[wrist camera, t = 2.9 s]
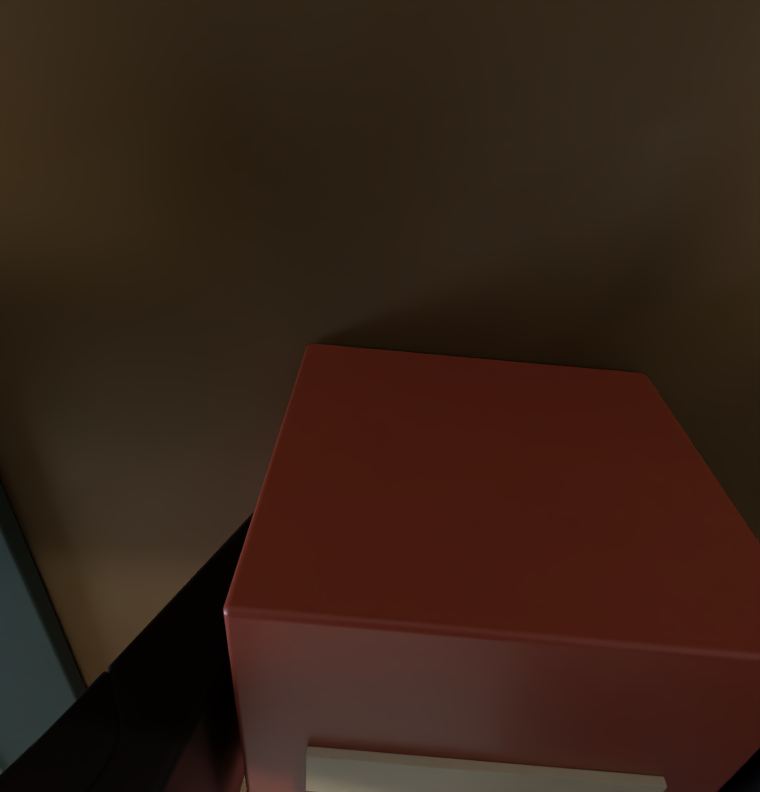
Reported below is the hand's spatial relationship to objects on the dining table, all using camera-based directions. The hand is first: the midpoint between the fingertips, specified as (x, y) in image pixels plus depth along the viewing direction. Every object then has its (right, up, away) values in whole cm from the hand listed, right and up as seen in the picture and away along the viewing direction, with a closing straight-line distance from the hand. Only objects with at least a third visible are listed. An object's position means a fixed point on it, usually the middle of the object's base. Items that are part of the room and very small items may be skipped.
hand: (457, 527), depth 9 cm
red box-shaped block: (0, +1, +1) cm, 1 cm away
